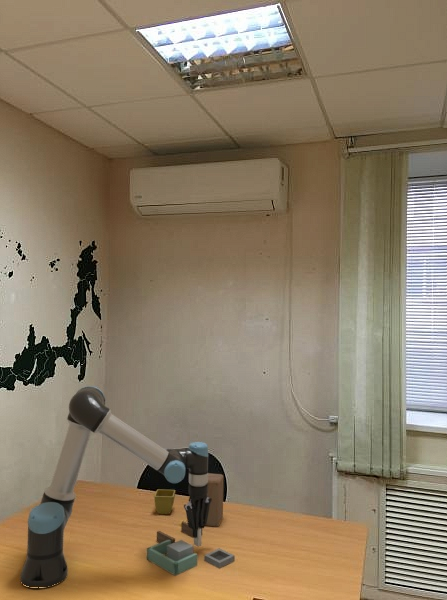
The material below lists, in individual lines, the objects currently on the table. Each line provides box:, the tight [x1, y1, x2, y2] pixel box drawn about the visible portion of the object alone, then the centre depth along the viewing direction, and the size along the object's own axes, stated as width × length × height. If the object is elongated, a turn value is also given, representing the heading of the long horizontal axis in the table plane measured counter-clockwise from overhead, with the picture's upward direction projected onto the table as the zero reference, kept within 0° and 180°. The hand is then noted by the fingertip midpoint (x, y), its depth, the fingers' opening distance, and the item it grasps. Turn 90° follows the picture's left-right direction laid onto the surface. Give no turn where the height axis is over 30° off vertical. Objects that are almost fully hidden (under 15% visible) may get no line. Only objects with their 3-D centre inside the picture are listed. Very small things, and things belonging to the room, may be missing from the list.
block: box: [166, 539, 194, 561], centre depth 182 cm, size 7×7×5 cm
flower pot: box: [153, 489, 176, 515], centre depth 226 cm, size 9×9×9 cm
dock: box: [146, 540, 198, 577], centre depth 179 cm, size 10×16×4 cm, turn 46°
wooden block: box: [205, 472, 224, 528], centre depth 216 cm, size 10×10×20 cm
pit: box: [204, 548, 236, 569], centre depth 181 cm, size 8×8×2 cm
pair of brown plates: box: [156, 521, 194, 544], centre depth 197 cm, size 14×10×4 cm
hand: (197, 544), depth 188 cm, fingers closed
